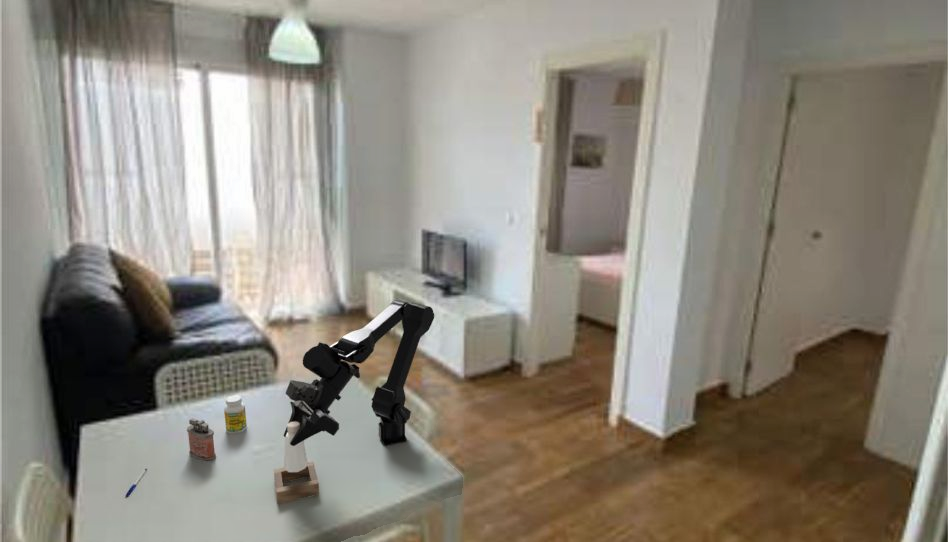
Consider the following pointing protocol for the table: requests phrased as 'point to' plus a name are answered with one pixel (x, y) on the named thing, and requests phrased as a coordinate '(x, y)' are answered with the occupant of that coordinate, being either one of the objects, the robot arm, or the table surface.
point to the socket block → (298, 489)
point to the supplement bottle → (235, 415)
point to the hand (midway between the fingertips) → (288, 440)
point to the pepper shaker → (294, 451)
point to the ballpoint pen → (135, 483)
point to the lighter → (201, 441)
